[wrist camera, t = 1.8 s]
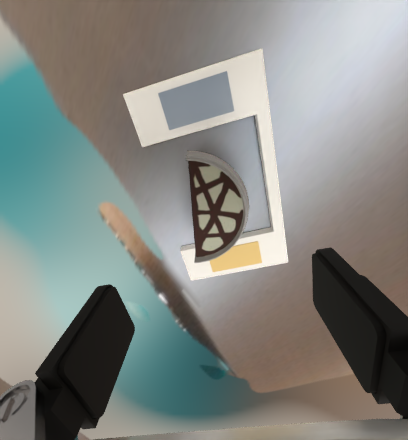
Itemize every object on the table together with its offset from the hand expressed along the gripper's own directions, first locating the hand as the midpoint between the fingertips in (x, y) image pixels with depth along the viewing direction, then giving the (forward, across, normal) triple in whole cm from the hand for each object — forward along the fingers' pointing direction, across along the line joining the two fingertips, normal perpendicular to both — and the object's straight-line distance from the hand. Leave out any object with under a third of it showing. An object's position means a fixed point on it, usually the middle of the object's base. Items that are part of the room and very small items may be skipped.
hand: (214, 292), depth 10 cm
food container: (+22, -1, +1) cm, 22 cm away
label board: (+22, -1, +1) cm, 22 cm away
